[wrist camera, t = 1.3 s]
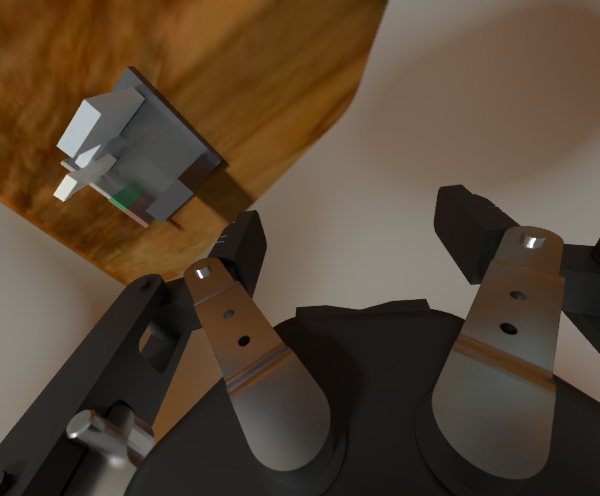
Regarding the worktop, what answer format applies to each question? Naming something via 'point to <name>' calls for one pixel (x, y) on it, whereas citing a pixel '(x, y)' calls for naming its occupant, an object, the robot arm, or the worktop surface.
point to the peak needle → (84, 177)
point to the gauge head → (98, 124)
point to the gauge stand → (152, 158)
